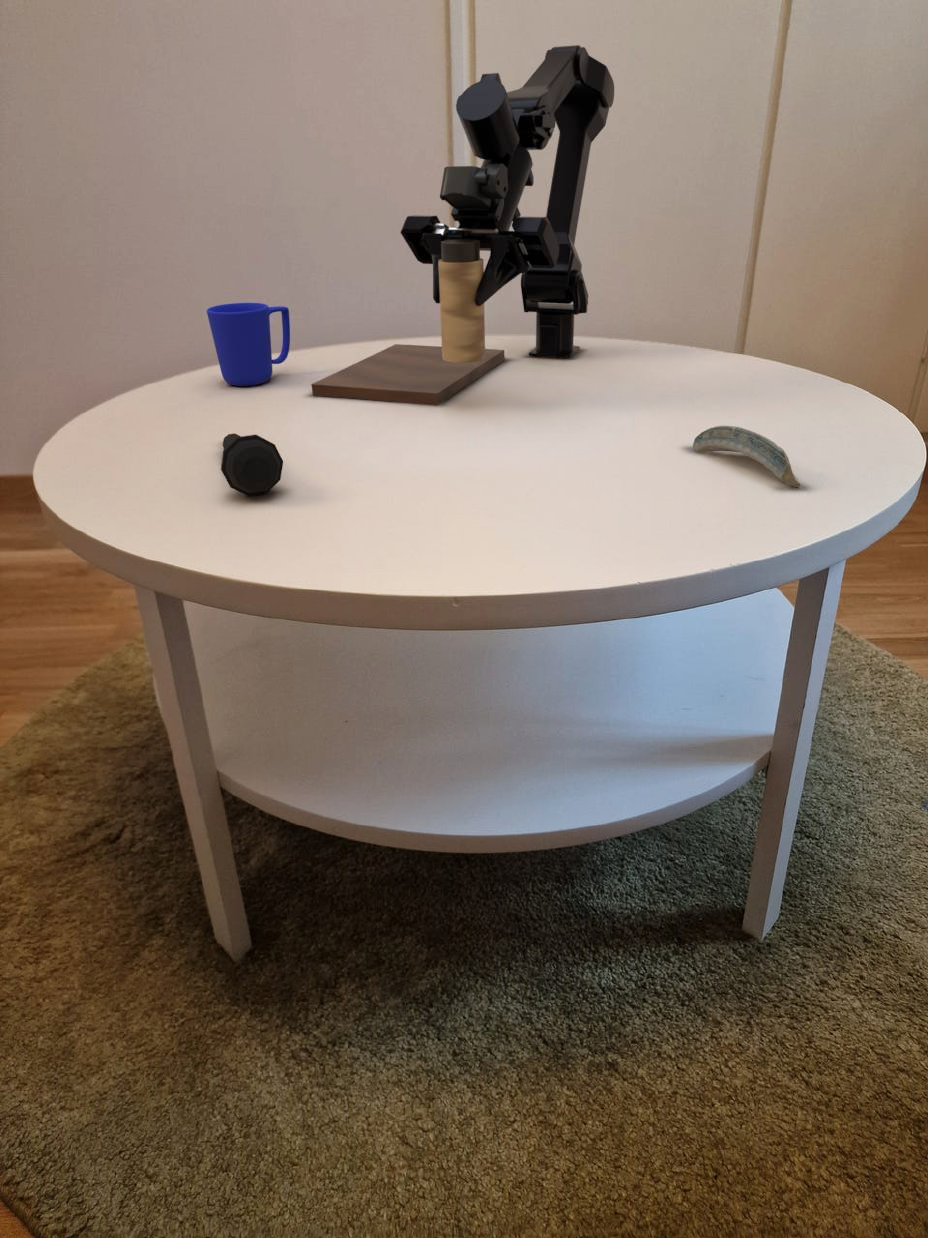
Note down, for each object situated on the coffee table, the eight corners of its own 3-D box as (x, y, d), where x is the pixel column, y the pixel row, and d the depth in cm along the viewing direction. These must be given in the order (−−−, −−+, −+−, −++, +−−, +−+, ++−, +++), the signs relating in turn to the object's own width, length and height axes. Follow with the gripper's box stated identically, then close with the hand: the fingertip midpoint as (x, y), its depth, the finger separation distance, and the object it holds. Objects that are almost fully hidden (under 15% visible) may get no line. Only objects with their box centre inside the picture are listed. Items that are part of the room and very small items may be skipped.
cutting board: (396, 353, 133) (395, 343, 133) (504, 359, 128) (504, 349, 127) (312, 395, 112) (311, 384, 112) (438, 405, 107) (437, 393, 106)
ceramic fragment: (690, 448, 89) (694, 411, 87) (731, 441, 91) (736, 405, 89) (781, 494, 78) (788, 453, 76) (826, 484, 79) (834, 445, 77)
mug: (311, 375, 122) (303, 301, 118) (240, 392, 115) (228, 314, 110) (277, 367, 127) (268, 296, 123) (207, 383, 120) (194, 308, 115)
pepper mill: (473, 351, 106) (471, 237, 100) (492, 359, 102) (490, 241, 96) (435, 356, 104) (430, 240, 98) (453, 364, 100) (448, 244, 94)
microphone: (219, 472, 95) (244, 512, 78) (193, 425, 93) (213, 455, 75) (262, 450, 96) (298, 485, 79) (238, 403, 94) (269, 428, 76)
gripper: (403, 138, 99) (357, 253, 96) (551, 133, 91) (505, 258, 88) (440, 208, 109) (399, 313, 106) (577, 209, 100) (536, 323, 98)
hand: (456, 302), depth 99 cm, fingers closed on pepper mill, 5 cm apart
